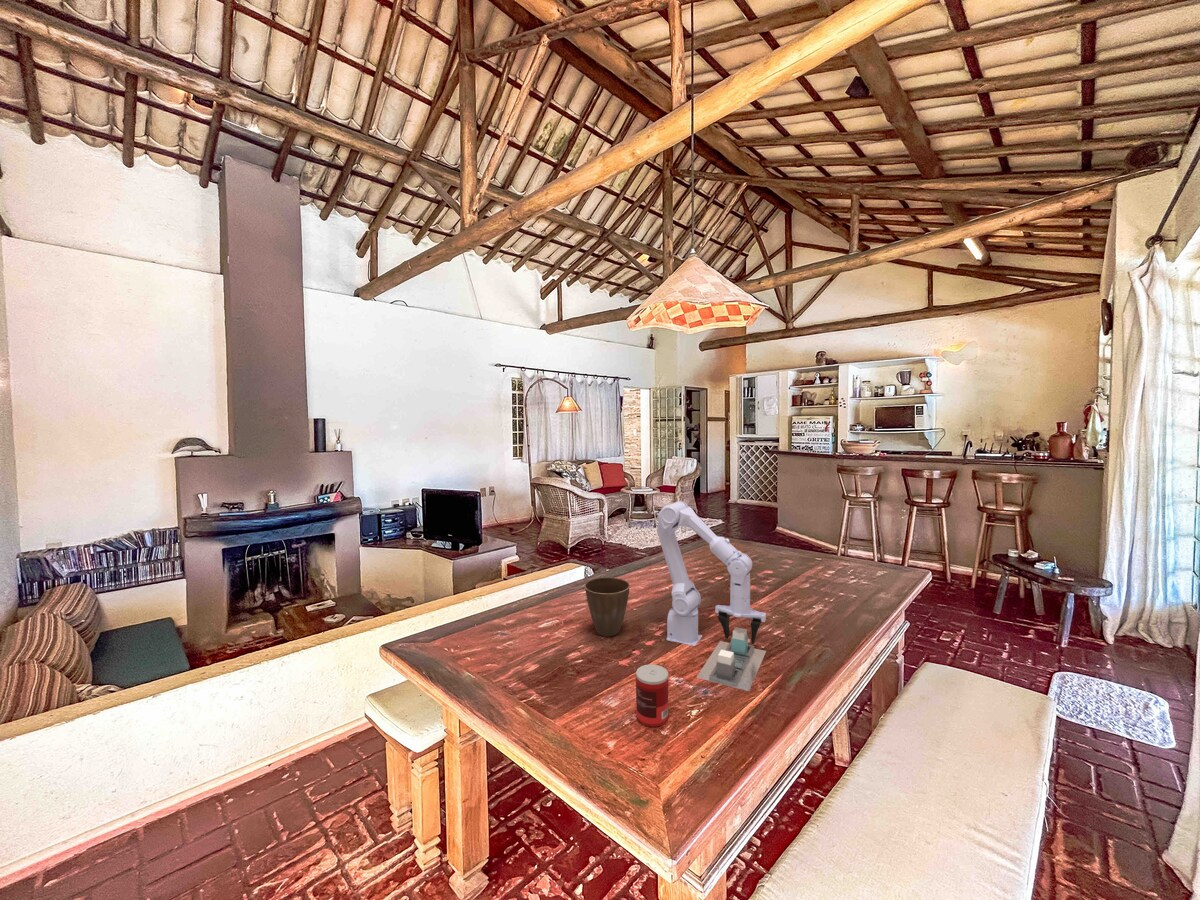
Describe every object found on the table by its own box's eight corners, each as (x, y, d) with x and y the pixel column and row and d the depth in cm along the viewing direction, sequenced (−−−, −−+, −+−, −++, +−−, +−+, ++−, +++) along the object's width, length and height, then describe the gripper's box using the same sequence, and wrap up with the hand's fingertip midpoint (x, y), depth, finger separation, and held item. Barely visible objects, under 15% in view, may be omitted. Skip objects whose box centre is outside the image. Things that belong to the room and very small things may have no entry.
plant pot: (626, 644, 150) (626, 594, 149) (580, 640, 153) (580, 591, 152) (632, 624, 165) (632, 578, 164) (590, 620, 168) (590, 576, 167)
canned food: (665, 706, 118) (665, 663, 117) (671, 727, 110) (671, 681, 109) (634, 707, 118) (634, 664, 117) (638, 728, 110) (637, 682, 109)
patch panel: (696, 678, 130) (696, 673, 130) (720, 642, 151) (720, 637, 151) (748, 692, 123) (748, 687, 123) (766, 652, 144) (766, 647, 144)
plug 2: (731, 652, 143) (731, 631, 143) (734, 647, 147) (734, 626, 146) (744, 655, 141) (745, 634, 141) (747, 650, 145) (748, 629, 144)
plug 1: (716, 678, 129) (716, 655, 129) (720, 671, 133) (720, 648, 132) (731, 682, 127) (731, 658, 127) (735, 675, 131) (735, 652, 130)
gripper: (712, 596, 143) (712, 640, 144) (762, 604, 136) (762, 650, 137) (718, 588, 149) (718, 630, 150) (767, 596, 142) (767, 640, 143)
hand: (740, 639), depth 144 cm, fingers open, 7 cm apart
